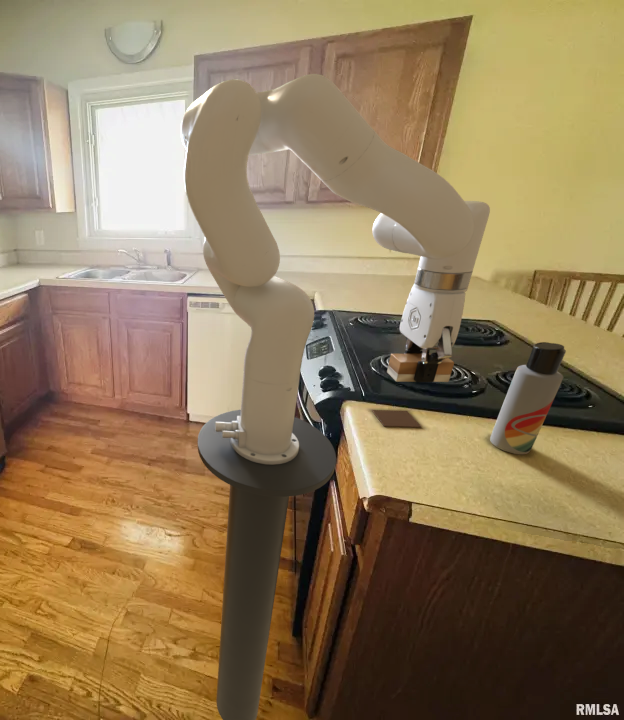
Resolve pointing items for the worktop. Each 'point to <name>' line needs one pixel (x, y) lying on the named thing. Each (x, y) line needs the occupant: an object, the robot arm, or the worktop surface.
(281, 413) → the robot arm
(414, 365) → the scrub brush
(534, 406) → the lotion bottle
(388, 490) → the worktop surface
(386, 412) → the brown square tile
